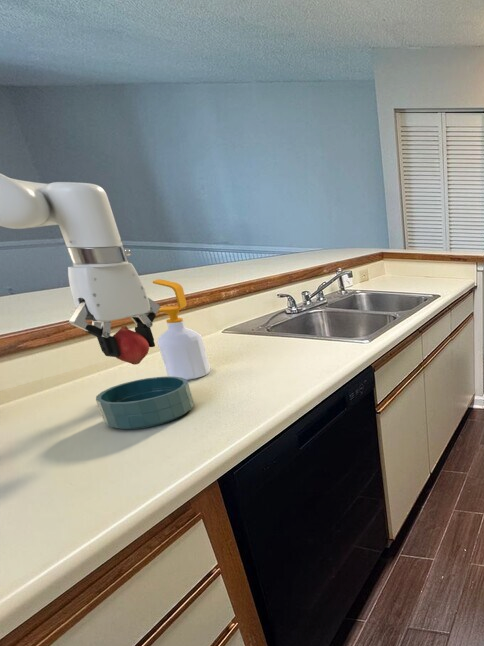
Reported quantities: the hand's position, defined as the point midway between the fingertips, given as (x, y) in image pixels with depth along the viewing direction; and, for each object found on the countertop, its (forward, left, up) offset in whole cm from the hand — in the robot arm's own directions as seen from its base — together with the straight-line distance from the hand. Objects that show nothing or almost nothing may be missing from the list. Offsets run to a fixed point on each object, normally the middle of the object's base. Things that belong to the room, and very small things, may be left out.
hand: (130, 350), depth 84 cm
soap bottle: (-14, +21, -15) cm, 29 cm away
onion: (0, 0, -3) cm, 3 cm away
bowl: (0, 0, -14) cm, 14 cm away
